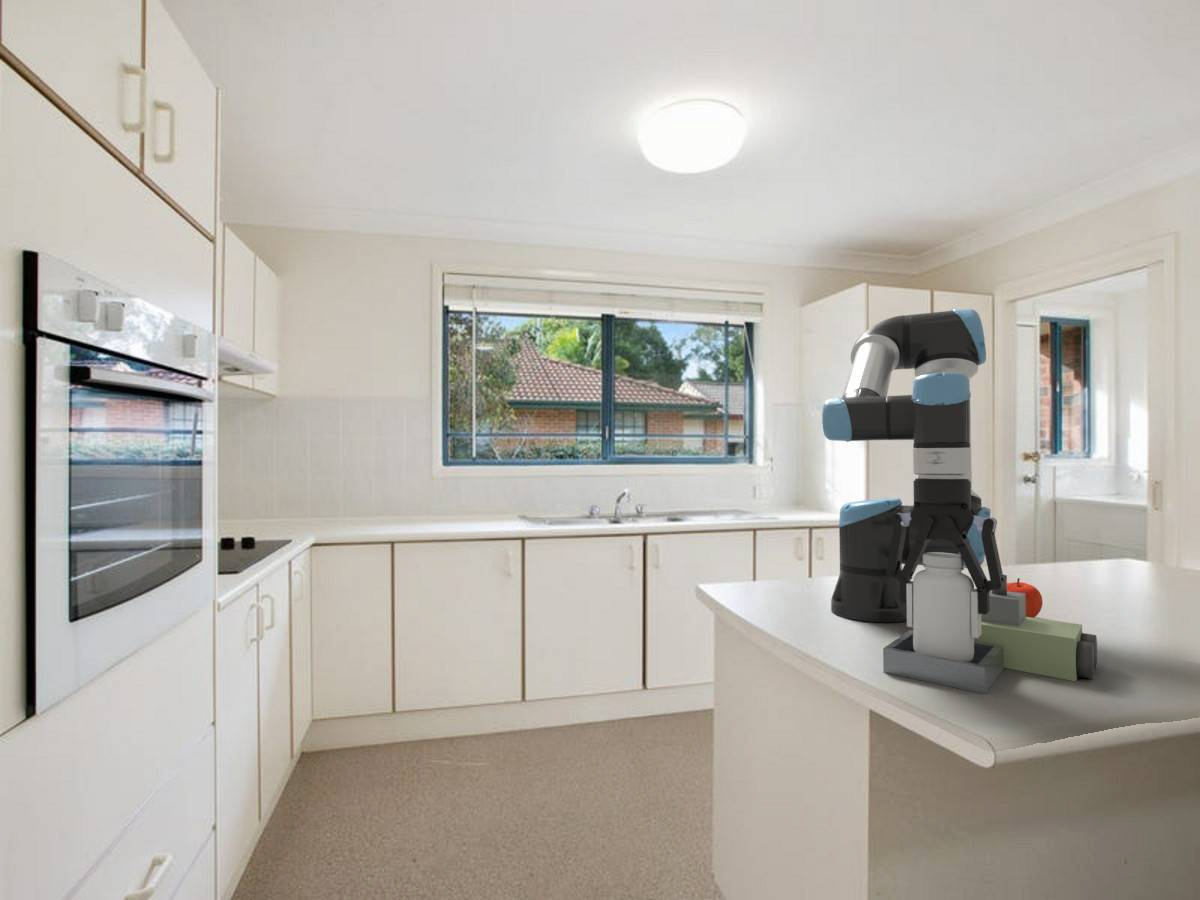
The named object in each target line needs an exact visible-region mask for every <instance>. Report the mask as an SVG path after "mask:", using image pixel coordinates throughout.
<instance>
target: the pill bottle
mask: <svg viewBox="0 0 1200 900" xmlns="http://www.w3.org/2000/svg"><path fill="white" fill-rule="evenodd" d="M922 566H923V568H924V569H922V570H920V571H918V572H916V574H914V575H913V576H914V577H913V578H912V579H913V627H912V631H913V647H914V651H915V652H916V653H921V654H926V655H931V656H936V657H941V658H947V659H952V660H957V661H962V662H969V661H971V660H972V659H973V657H974V638H973V637H971V591H973V590H974V589H975V584H974V582H973V580H972V577H971V576H968V575H967V574H965V573H963V571H964V570H965V568H963V559H962V556H961V555H958V554H953V553H943V552H927V553H924V554H923V565H922Z"/></svg>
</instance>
